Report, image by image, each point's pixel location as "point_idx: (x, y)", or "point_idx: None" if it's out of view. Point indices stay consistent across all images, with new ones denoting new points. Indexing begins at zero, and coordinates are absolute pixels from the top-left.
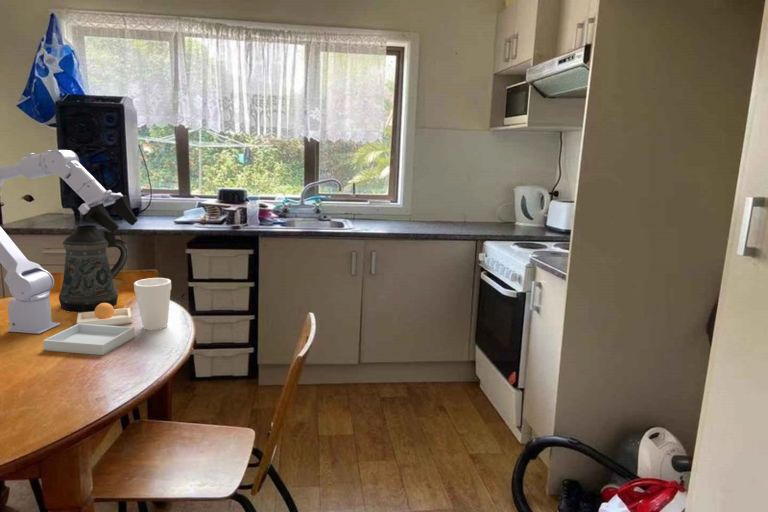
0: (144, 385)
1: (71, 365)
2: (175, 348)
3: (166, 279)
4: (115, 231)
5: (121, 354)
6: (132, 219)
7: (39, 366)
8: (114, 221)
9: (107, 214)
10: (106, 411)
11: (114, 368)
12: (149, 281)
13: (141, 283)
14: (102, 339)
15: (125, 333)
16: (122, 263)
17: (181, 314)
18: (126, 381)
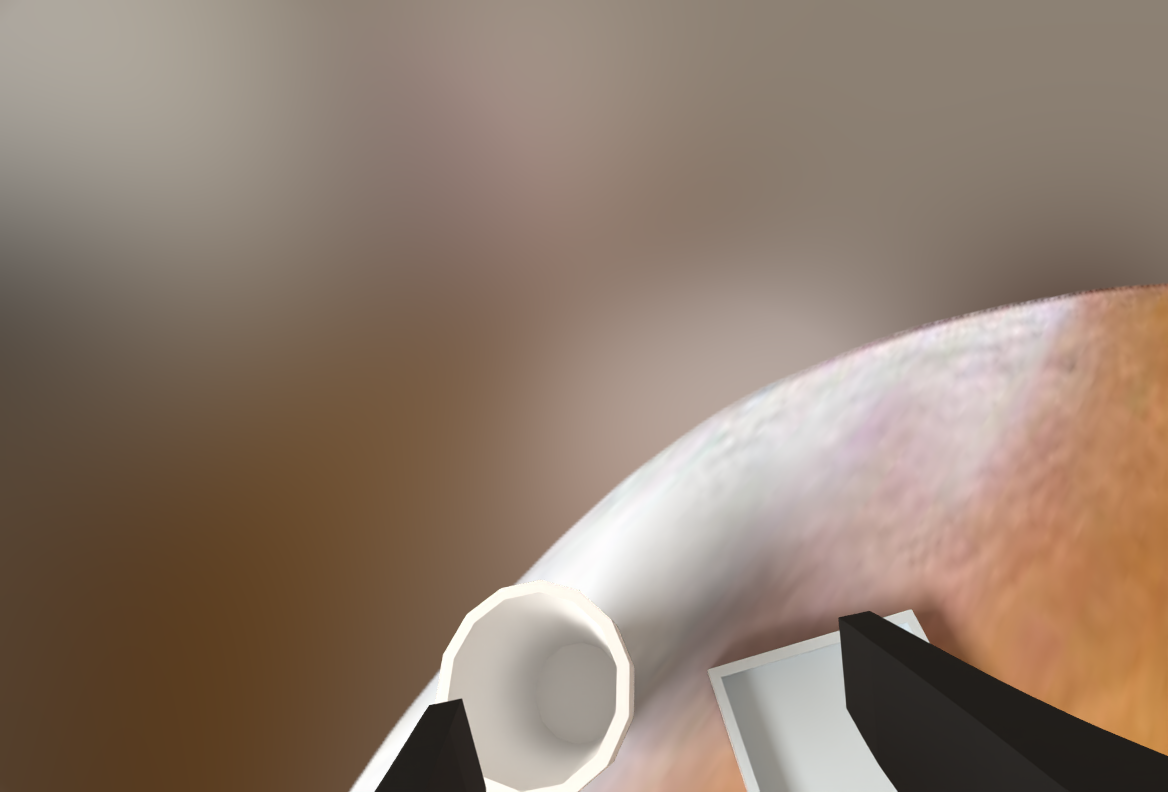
0: (934, 337)
1: (1035, 640)
2: (710, 454)
3: (454, 657)
4: (847, 691)
5: (851, 564)
6: (463, 767)
7: None
8: (909, 660)
9: (1083, 762)
10: (1080, 302)
11: (933, 487)
12: (486, 767)
13: (533, 785)
14: (822, 754)
15: (768, 651)
16: None
17: (417, 710)
18: (956, 389)
